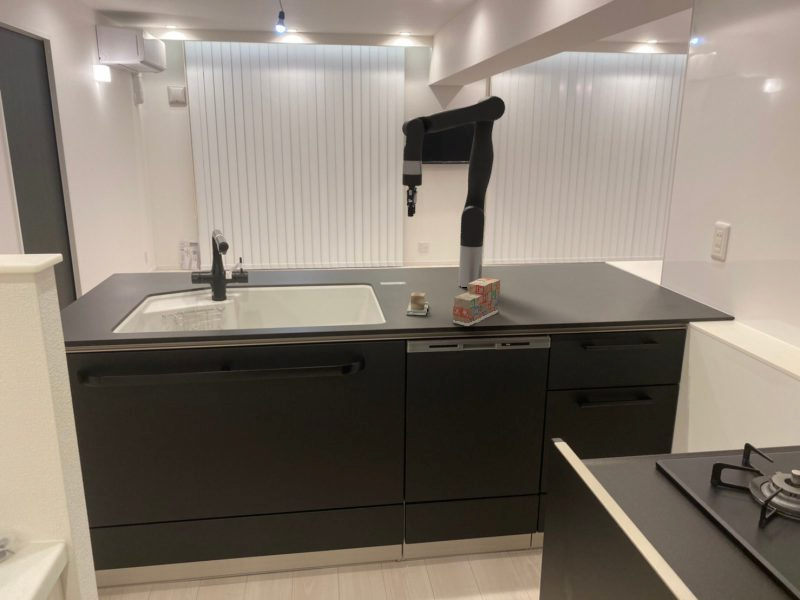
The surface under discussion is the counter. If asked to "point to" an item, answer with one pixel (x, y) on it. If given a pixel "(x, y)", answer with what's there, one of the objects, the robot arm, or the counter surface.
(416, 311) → the ceramic dish
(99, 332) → the counter surface
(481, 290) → the stack of blocks
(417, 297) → the maple block
